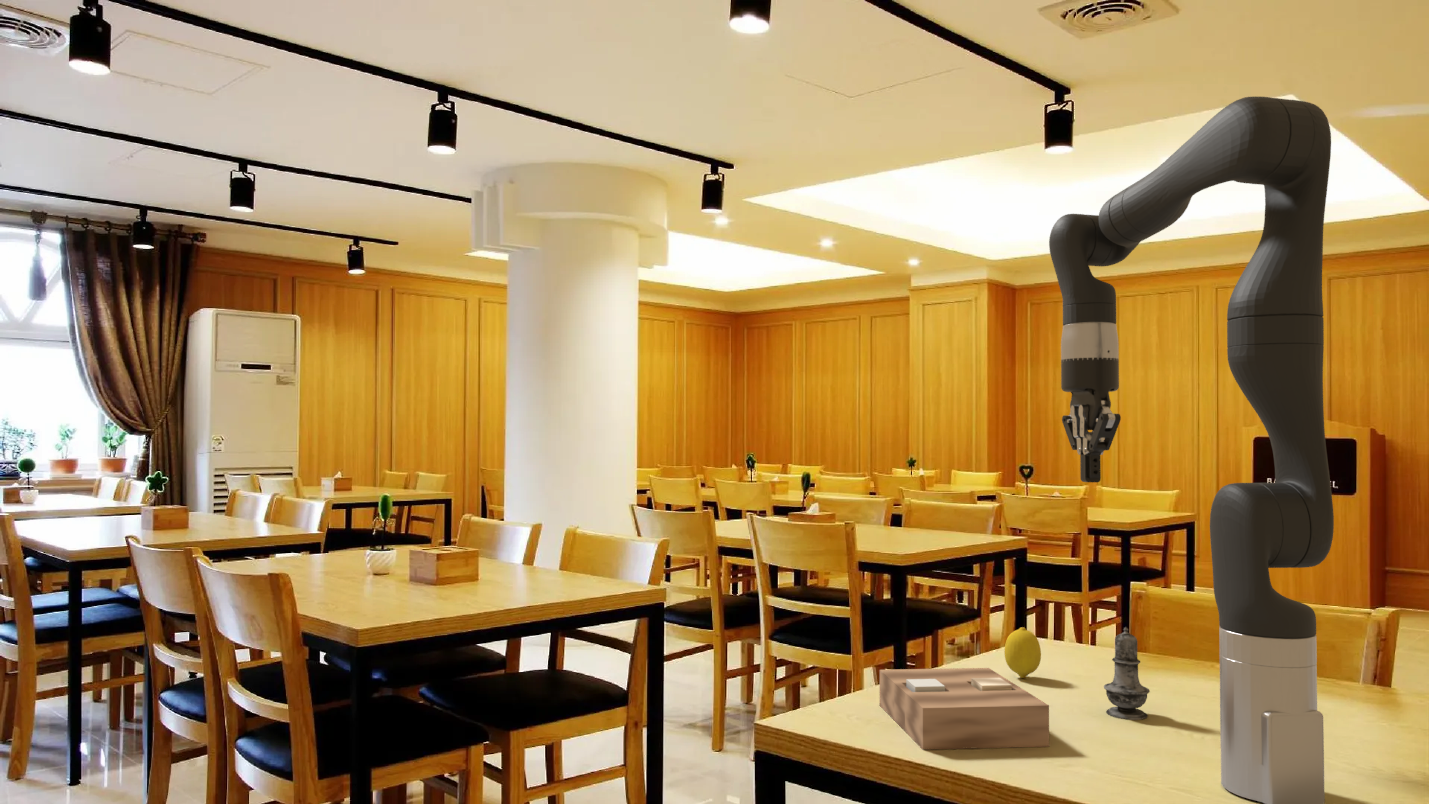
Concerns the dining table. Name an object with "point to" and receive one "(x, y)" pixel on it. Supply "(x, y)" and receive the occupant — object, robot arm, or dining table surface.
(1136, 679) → the salt shaker
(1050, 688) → the dining table surface
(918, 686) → the peg
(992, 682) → the peg
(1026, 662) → the lemon
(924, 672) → the socket board
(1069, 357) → the robot arm
